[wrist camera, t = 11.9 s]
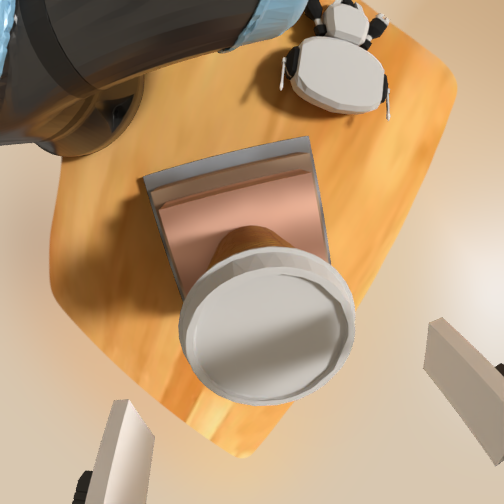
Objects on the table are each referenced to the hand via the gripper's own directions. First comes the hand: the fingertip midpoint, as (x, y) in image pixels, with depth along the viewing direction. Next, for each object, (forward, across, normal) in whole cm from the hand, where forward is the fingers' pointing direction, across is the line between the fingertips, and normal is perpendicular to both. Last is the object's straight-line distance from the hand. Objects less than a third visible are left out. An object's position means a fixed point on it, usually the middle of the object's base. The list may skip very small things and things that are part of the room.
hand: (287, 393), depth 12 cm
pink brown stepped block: (+25, 0, 0) cm, 25 cm away
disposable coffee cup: (+16, 0, 0) cm, 16 cm away
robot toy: (+26, +15, +18) cm, 34 cm away
